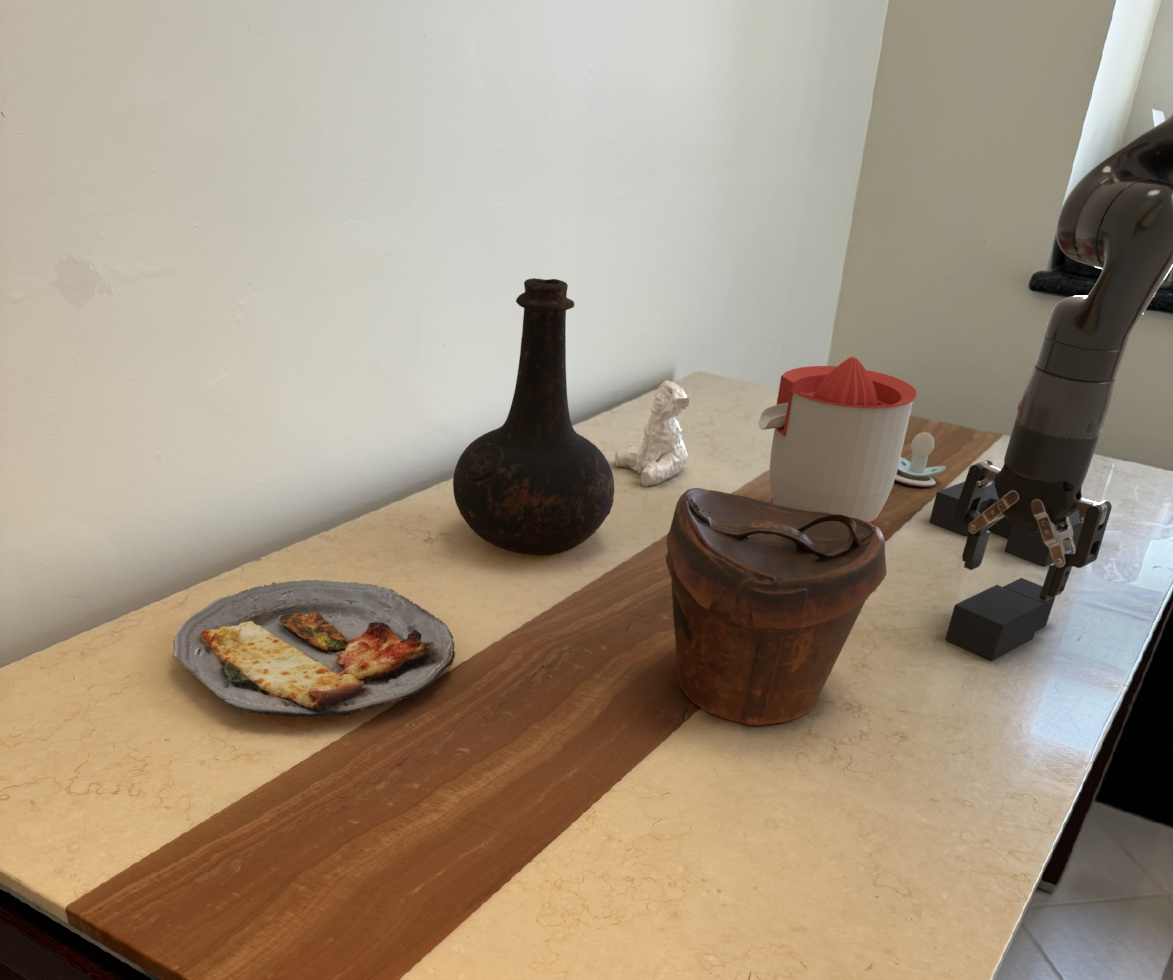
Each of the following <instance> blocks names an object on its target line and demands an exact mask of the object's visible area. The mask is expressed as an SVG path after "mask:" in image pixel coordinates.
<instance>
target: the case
mask: <svg viewBox="0 0 1173 980" xmlns="http://www.w3.org/2000/svg"><path fill="white" fill-rule="evenodd" d="M666 547H667V554H666V556H665V562H666V566H667V569H668V573H669V576H670V578H671V579H670V580H671V581H670V582H671V597H672V598H671V599H672V613H673V615H672V616H673V627H674V628H673V629H674V639H675V640H674V642H675V654H676V669H677V670H676V671H677V680H678V684H679V686H680V688H681V690H682V692H683V694H684V695H685V696H686V697H687V698H688V699H689V700H690V701H691V702H692V703H693V704H695V706H698V707H699V708H701V709H703V710H704V711H706V712H708V713H710V714H712V715H715V716H718V717H720V718H724V719H727V720H731V721H734V722H738V723H741V724H745V725H750V726H765V725H775V724H783V723H787V722H790V721H793V720H795V719H798V718H801V717H803V716H805V715H806V714H808V713H810V712H811V711H812V710H813V709H814V708H815V706H816V705H817V703H818V701H819V699H820V698H819V697H820V695H821V693H822V691H823V689H824V687H825V685H826V683H827V681H828V679H829V678H830V674H831V673H832V670H833V668H834V666H835V665H836V662H837V660H838V658H839V656H840V654H841V653H842V651H843V648H844V647H845V644H846V642H847V640H848V638H849V636H850V634H851V632H852V630H853V627H854V626H855V624H856V622H857V619H858V617H859V615H860V613H861V611H862V609H863V607H864V605H865V603H866V601H867V600H868V599H869V597H870V596H871V595H872V594H873V593H874V592H875V591H876V590H877V589H878V588H879V586H880V585H881V584H882V582H883V581H884V580H885V579H886V576H887V570H888V569H887V561H886V560H887V559H886V540H885V537H884V535H883V533H882V531H881V529H880V528H879V527H877V525H875V524H873V525H872V524H870V523H868V522H866V521H863V520H860V519H857V518H851V517H848V516H844V515H839V514H837V515H836V514H830V513H824V512H814V511H805V510H800V509H795V508H790V507H785V506H778V505H774V504H772V503H769V502H765V501H762V500H758V499H756V498H752V497H749V496H743V495H739V494H734V493H728V492H724V491H719V490H712V489H705V488H702V487H701V488H700V487H694V488H689V489H687V490H685V491H684V492H683V493H682V494H681V495H680V496H679V498H678V500H677V502H676V505H675V508H674V511H673V516H672V520H671V524H670V528H669V531H668V532H667V535H666Z"/></svg>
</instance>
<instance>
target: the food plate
mask: <svg viewBox="0 0 1173 980" xmlns="http://www.w3.org/2000/svg"><path fill="white" fill-rule="evenodd" d="M190 615H191V616H190V617H188V619H185V620H184V622H183V623H182V624H181V625H180V626H179V628H178V629H177V630H176V632H175V635H174V637H173V640H172V643H173V654H172V657H173V658H175V659H176V660H177V661H178V663H180V664H181V665H182V666H183V667H185V668H186V669H187V671H188V672H190V673H191V675H192V676H194V677H195V678H196V679H197V680H198V681H199V682H200V683H201V684H204V685H205V687H206V688H208V690H210V691H211V692H213V693H214V694H215V695H216V696H217V697H218V698H219V699H220V700H221V701H223V702H225V703H226V704H229V705H231V706H233V707H235V708H236V709H239V710H244V711H245V712H249V713H253V714H254V713H255V714H259V715H267V716H270V715H273V716H282V717H285V716H287V717H294V718H297V717H299V718H304V719H305V718H308V719H310V718H314V719H315V718H316V719H317V718H321V717H326V716H327V717H329V716H332V717H333V716H337V717H340V716H343V717H344V716H346V715H347V716H348V715H350V714H355V713H358V712H361V711H366V710H370V709H373V708H376V707H379V706H384V705H386V704H390V703H393V702H396V701H398V700H403V699H408V698H413V697H414V695H417V694H418V693H419V694H420V693H422V691H424V690H426V689H428V688H429V687H430V686H431V685H432V684H434V683H435V682H436V681H437V679H438V678H439V677H440V675H441V674H442V673H443V672H445V670H446V669H448V668H449V667H451V666H452V665H453V663H454V660H455V658H456V651H455V641H454V636H453V634H452V632H451V631H450V628H449V626H448V625H447V623H445V622H444V621H443V620H442V619H440V618H438V617H436V616H435V615H434V614H432V613H430V612H429V611H428V610H426V609H424V608H423V607H421V606H420V605H419V604H417V603H415V602H414V601H412V600H410V599H408V598H407V597H406V596H405V595H404V596H403V595H402V594H398V592H397V591H395V590H393V588H392V589H391V588H388V587H387V588H386V587H384V586H380V585H377V584H372V583H361V582H358V581H351V582H347V581H332V580H327V579H324V580H320V579H313V580H310V579H305V580H304V579H302V580H290V581H286V582H285V581H284V582H275V581H273V582H271V583H270V584H264V585H262V586H261V585H257V586H254V587H250V588H249V589H248V588H247V589H245V590H241V591H240V592H237V593H234V594H231V595H229V594H227V595H226V596H224V597H219V598H216V599H215V600H213V601H212V602H210V603H209V604H208V605H206V606H205V607H203V608H202V609H200V610H199V611H197V612H195V613H193V614H190Z"/></svg>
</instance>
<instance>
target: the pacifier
mask: <svg viewBox="0 0 1173 980" xmlns="http://www.w3.org/2000/svg"><path fill="white" fill-rule="evenodd" d="M934 448H935V439H934V437H933V435H932V434H931V433H929V432H927V431H923V432H919V433H918V434H916V435H915V436H914V437H913V439H912V441H911V444H910V450H911V452H912V454H911V459H910V461H909V460H908V459H906V458H904V457H902V456H901V457H900V462H899V466H898V470H897V473H896V477H895V480H894V481H896V482H899V483H902V484H905V485H909V486H916V487H932V486H935V485H936V480H935V479H934V478H933V477H932V476H935V475H938V474H940V473H942V472H944V471H945V470H946V468H947V466H946V465H936V466H928V467H927V463H928V460H929V459H928V458H929V456H930V455H931V453H932V452H933V450H934Z"/></svg>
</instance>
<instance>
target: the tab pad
mask: <svg viewBox="0 0 1173 980" xmlns="http://www.w3.org/2000/svg"><path fill="white" fill-rule="evenodd" d="M1042 587H1043V585H1040V584H1038V583H1035V582H1033V581H1030V580H1028V579H1026V578H1023V577H1019V578H1017V579H1016V580H1013V581H1012V582H1010V583H1007V584H1005V585H1003V586H1001V585H999V584H995V585H993V586H990V587H989V588H987V589H985V590H983V591H981V592H979V593H976V594H974V595H972V596H970V597H968V598H966V599H964V600H962V601H960V602H957V603H956V604H954V606H953V610H952V613H951V618H950V620H949V625H948V628H947V632H946V634H945V639H944V640H945V641H947V642H949V643H951V644H954V645H956V646H958V647H960V648H963V649H965V650H967V651H969V652H971V653H974V654H976V655H977V656H980V657H982V658H985V659H986V660H989V661H991V662H993V661H995V660H996V659H998V658H1000V657H1002V656H1003V655H1006V654H1008V653H1009V652H1012V651H1013V650H1014V649H1016V648H1018V647H1020V646H1023V645H1024V644H1025V643H1027V642H1029V641H1031V640H1033V639H1034V636H1035V633H1036V632H1037V631H1040V630H1041V629H1043V628H1045V627H1046V626H1047V624H1048V621H1049V617H1050V614H1051V611H1052V608H1053V606H1054V602H1055V599H1056V597H1054V598H1052V599H1050V600H1048V601H1044V600H1042V599H1040V598H1039V596H1040V593H1041V590H1042Z"/></svg>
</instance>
